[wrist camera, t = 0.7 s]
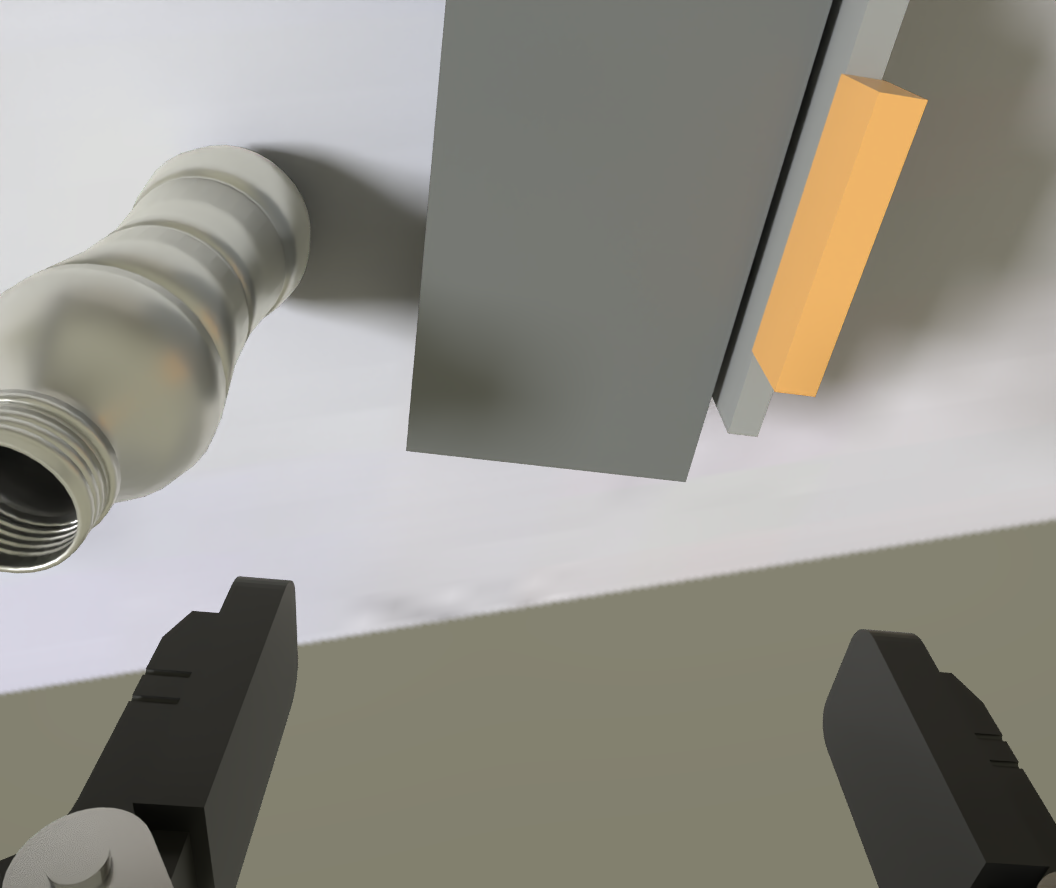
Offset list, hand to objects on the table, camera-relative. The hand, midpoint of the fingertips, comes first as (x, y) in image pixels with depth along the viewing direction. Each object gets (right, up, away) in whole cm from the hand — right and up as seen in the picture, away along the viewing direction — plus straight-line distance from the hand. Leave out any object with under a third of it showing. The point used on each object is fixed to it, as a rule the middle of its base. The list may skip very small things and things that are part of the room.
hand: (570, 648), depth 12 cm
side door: (+7, +15, +21) cm, 27 cm away
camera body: (+1, +17, +20) cm, 26 cm away
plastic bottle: (-12, +12, +23) cm, 29 cm away
